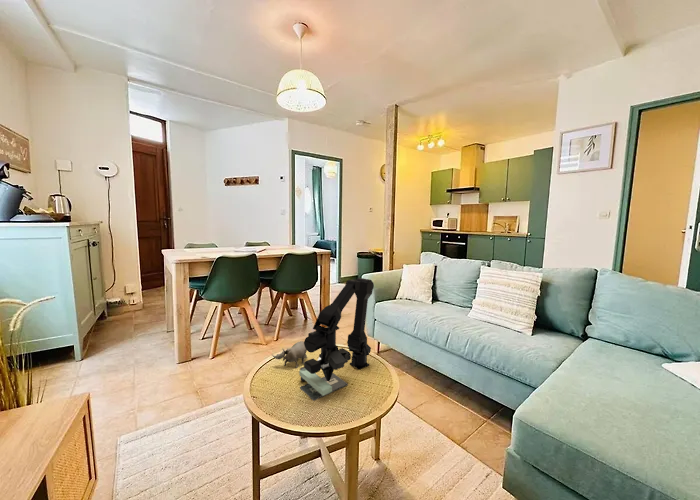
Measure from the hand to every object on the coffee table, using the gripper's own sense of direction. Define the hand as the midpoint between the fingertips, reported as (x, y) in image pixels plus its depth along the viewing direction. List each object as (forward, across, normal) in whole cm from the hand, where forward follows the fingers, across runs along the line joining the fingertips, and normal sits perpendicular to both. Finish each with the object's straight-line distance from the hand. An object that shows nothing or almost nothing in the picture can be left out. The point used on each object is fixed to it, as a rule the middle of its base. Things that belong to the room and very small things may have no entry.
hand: (328, 380), depth 114 cm
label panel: (+3, -1, +4) cm, 5 cm away
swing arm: (0, -5, +2) cm, 6 cm away
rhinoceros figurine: (+3, -2, +24) cm, 24 cm away
